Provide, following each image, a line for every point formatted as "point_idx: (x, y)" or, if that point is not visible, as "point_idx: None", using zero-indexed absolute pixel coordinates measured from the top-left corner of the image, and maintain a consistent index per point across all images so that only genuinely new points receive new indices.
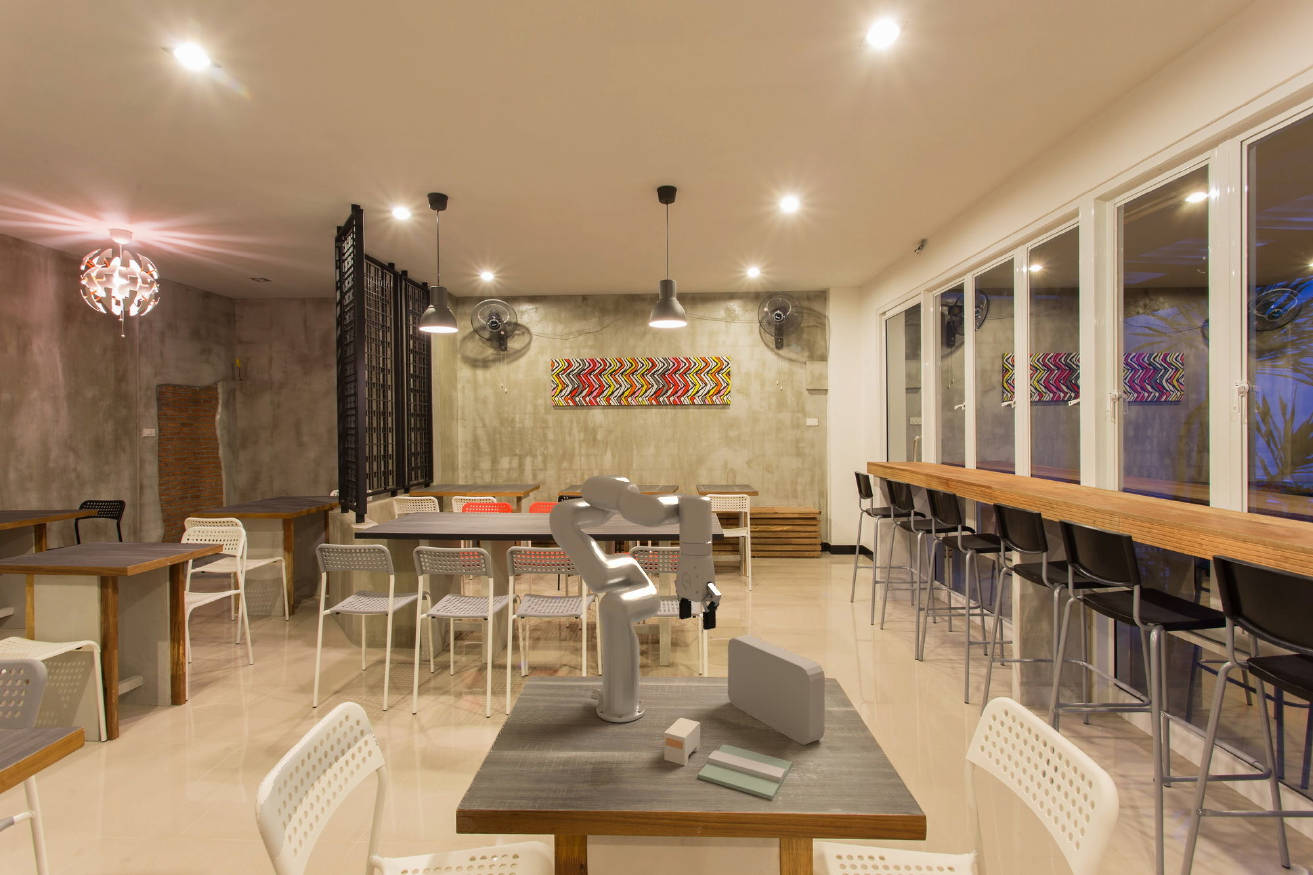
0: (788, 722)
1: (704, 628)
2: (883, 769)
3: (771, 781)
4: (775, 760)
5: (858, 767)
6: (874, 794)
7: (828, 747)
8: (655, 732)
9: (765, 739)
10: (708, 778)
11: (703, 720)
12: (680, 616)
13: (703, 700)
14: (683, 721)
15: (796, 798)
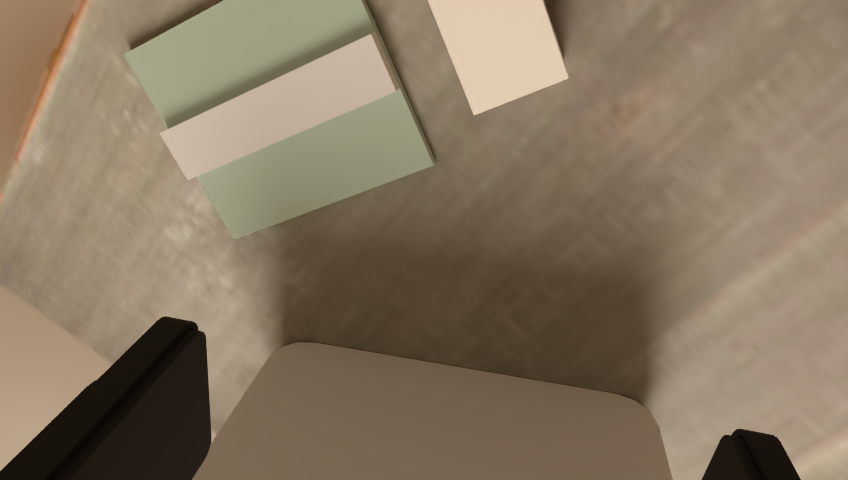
0: (347, 377)
1: (157, 321)
2: None
3: (183, 112)
4: (264, 211)
5: None
6: (55, 273)
7: None
8: (707, 36)
9: (390, 295)
10: None
11: (625, 249)
12: (755, 457)
13: (736, 358)
14: (530, 62)
15: (112, 114)
